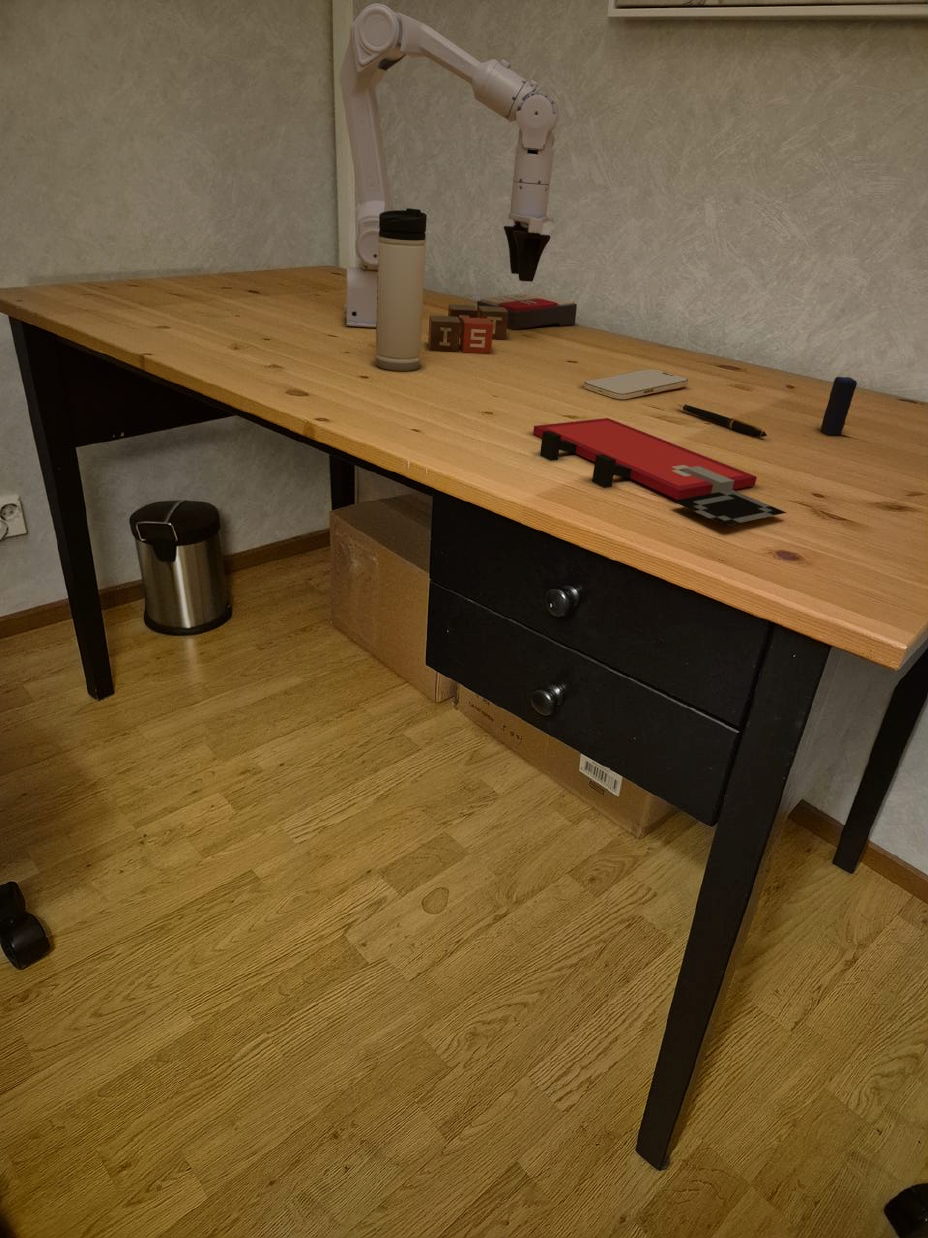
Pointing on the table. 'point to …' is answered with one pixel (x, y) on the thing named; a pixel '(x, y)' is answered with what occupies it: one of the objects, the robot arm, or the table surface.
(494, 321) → the T block
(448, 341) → the I block front
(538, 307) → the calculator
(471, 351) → the block
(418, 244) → the travel mug
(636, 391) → the smartphone
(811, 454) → the table surface
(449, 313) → the dark brown cube block
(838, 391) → the eraser
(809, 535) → the table surface
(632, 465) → the red board with handle
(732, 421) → the fountain pen
